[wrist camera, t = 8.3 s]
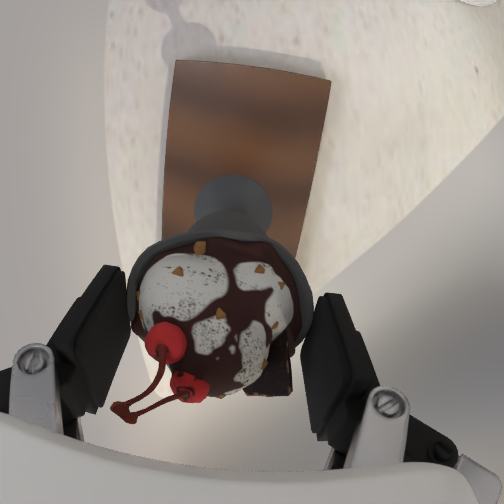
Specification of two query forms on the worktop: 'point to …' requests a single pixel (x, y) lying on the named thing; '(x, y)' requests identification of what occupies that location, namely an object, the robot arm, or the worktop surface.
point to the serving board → (243, 139)
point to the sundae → (220, 301)
